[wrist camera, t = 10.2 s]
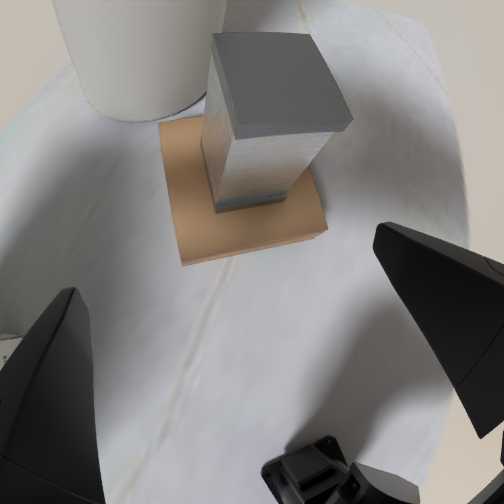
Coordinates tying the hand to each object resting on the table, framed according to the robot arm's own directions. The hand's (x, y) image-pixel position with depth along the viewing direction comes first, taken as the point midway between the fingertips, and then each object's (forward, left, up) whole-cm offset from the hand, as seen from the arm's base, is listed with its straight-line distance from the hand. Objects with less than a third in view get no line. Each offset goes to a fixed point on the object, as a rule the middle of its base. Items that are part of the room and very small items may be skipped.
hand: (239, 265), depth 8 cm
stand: (+7, -5, -14) cm, 16 cm away
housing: (+7, -5, -11) cm, 13 cm away
